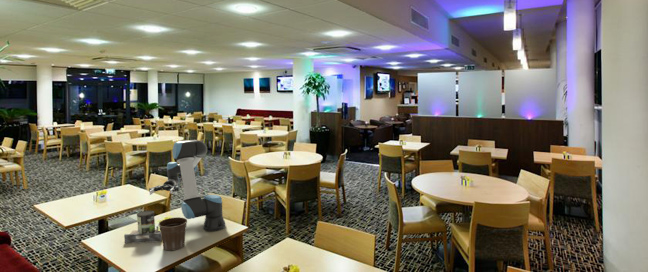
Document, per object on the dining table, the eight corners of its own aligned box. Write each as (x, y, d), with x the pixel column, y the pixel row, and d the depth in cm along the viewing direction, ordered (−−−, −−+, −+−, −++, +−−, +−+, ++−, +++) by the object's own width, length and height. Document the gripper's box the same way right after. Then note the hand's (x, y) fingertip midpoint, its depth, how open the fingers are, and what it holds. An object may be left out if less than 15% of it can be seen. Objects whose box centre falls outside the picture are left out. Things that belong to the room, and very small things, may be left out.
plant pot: (193, 242, 224) (192, 218, 222) (178, 253, 208) (176, 227, 206) (171, 240, 227) (169, 216, 225) (154, 251, 211) (152, 225, 209)
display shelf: (167, 233, 238) (166, 225, 237) (160, 241, 225) (160, 233, 224) (133, 234, 235) (132, 227, 235) (124, 243, 222) (124, 235, 221)
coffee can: (158, 231, 234) (157, 210, 232) (148, 237, 224) (147, 216, 222) (145, 229, 236) (144, 209, 234) (134, 235, 226) (133, 215, 224)
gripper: (186, 189, 267) (179, 196, 246) (152, 190, 264) (142, 198, 243) (186, 179, 266) (178, 186, 245) (151, 181, 263) (141, 188, 242)
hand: (160, 192), depth 244 cm, fingers open, 13 cm apart
